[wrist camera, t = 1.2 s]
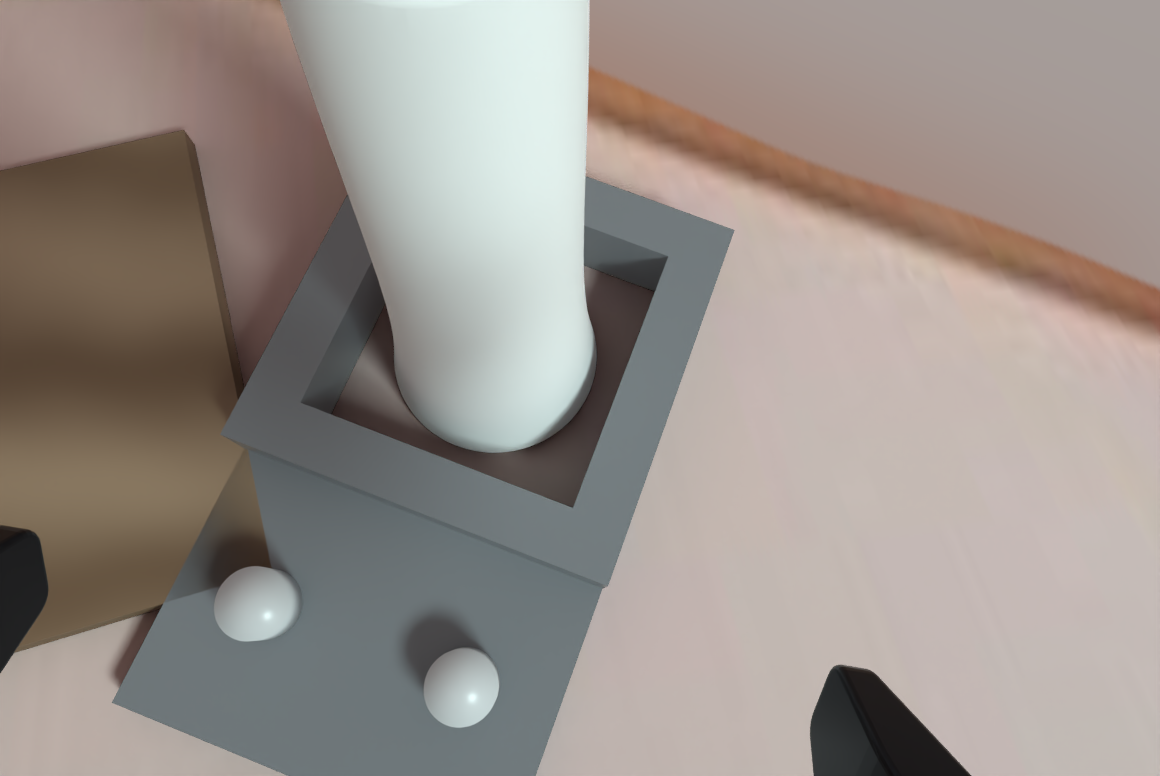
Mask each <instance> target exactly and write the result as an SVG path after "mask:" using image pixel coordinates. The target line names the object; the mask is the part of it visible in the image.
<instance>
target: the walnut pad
mask: <svg viewBox="0 0 1160 776" xmlns="http://www.w3.org/2000/svg"><path fill="white" fill-rule="evenodd" d="M243 390H244V385H243V380H242V375H241V370H240V365H239V360H238V355H237V350H236V345H235V341H234V336H233V331H232V326H231V321H230V316H229V311H228V306H227V301H226V296H225V291H224V286H223V281H222V277H221V272H220V267H219V262H218V257H217V252H216V247H215V242H214V237H213V232H212V227H211V222H210V218H209V213H208V208H207V203H206V198H205V193H204V188H203V183H202V178H201V173H200V168H199V163H198V158H197V154H196V149H195V145H194V143H193V142H192V140H191V139H190V138H189V136H188V135H187V134H186V132H185V131H184V130H181V131H177V132H172V133H168V134H163V135H159V136H154V137H150V138H145V139H141V140H136V141H132V142H127V143H123V144H118V145H114V146H109V147H105V148H100V149H96V150H91V151H87V152H82V153H78V154H73V155H69V156H64V157H60V158H55V159H51V160H46V161H42V162H37V163H33V164H29V165H24V166H20V167H15V168H11V169H6V170H2V171H0V525H5V526H11V527H17V528H23V529H28V530H31V531H33V532H35V533H36V534H37V536H38V537H39V539H40V542H41V547H42V552H43V558H44V563H45V569H46V574H47V580H48V587H49V590H48V597H47V601H46V603H45V606H44V608H43V610H42V611H41V613H40V615H39V616H38V618H37V619H36V621H35V622H34V623H33V625H32V626H31V628H30V629H29V631H28V632H27V634H26V635H25V637H24V638H23V640H22V641H21V643H20V644H19V646H18V647H17V649H16V650H15V652H18V651H22V650H25V649H28V648H32V647H35V646H38V645H42V644H45V643H48V642H51V641H55V640H58V639H61V638H65V637H68V636H71V635H75V634H78V633H81V632H85V631H88V630H91V629H95V628H98V627H101V626H105V625H108V624H111V623H115V622H118V621H121V620H125V619H128V618H131V617H134V616H138V615H141V614H144V613H148V612H151V611H154V610H158V609H161V607H162V605H163V603H164V601H165V603H166V598H167V596H170V595H169V593H170V590H171V588H172V586H173V587H174V585H173V584H174V582H175V580H176V578H180V579H181V577H183V578H184V577H185V576H184V575H183V576H179V577H178V574H179V573H180V571H183V572H184V569H186V568H187V572H191V571H192V570H193V571H194V573H193V574H195V575H194V577H195V578H196V574H197V573H196V572H199V573H200V572H201V570H199V571H197V570H196V571H195V570H194V568H195V567H196V568H197V567H198V566H199V565H198V564H200V563H202V562H207V563H208V564H209V565H211V563H209V562H210V561H213V560H215V562H216V563H215V562H214V561H213V562H214V564H215V565H216V564H217V561H219V562H221V561H222V562H224V561H225V560H224V559H223V560H222V559H219V558H220V557H221V558H224V555H223V554H225V557H226V558H227V557H228V556H229V555H231V556H232V557H230V556H229V557H228V558H227V559H226V558H225V559H226V560H227V561H230V560H229V559H231V561H235V562H234V563H235V564H234V563H233V562H231V561H230V562H226V561H225V563H226V565H227V566H226V565H225V563H221V565H220V563H219V562H218V564H217V566H215V565H214V564H213V565H214V566H213V565H211V566H209V567H210V568H209V569H208V567H207V571H208V570H212V568H215V569H216V570H214V569H213V570H214V571H213V572H215V573H217V574H219V573H218V572H221V573H222V574H223V570H225V572H227V571H230V572H227V573H228V574H227V573H225V572H224V573H225V574H223V575H220V576H218V575H216V574H213V572H212V571H211V572H212V573H211V572H210V571H208V572H210V573H211V574H208V573H207V571H206V569H205V570H202V572H204V571H206V572H204V573H203V574H204V575H206V576H209V575H210V576H211V575H214V577H213V576H212V577H211V578H210V580H212V578H214V580H213V581H215V583H216V581H217V579H218V578H217V577H219V578H220V579H222V580H223V581H225V580H226V579H225V578H226V576H227V578H228V577H229V575H231V574H230V573H231V572H232V574H233V573H234V572H236V571H238V570H240V569H243V568H246V567H251V566H257V565H258V566H260V567H262V566H263V567H266V566H265V565H267V566H268V567H266V568H269V567H270V568H271V563H270V558H269V557H268V555H269V553H268V548H267V543H266V538H265V533H264V528H263V523H262V518H261V513H260V508H259V503H258V498H257V496H256V495H257V493H256V488H255V483H254V478H253V473H252V468H251V465H250V464H251V463H250V458H249V453H248V449H245V448H243V447H241V446H239V445H238V444H236V443H234V442H232V441H231V440H229V439H227V438H225V437H224V436H222V435H220V433H221V432H222V430H223V428H224V426H225V424H226V422H227V420H228V418H229V417H230V415H231V413H232V411H233V409H234V407H235V405H236V403H237V401H238V400H239V398H240V396H241V394H242V392H243ZM244 449H245V450H244ZM246 451H247V452H246ZM241 453H242V454H241ZM240 455H241V456H242V458H241V456H240ZM243 455H245V457H244V456H243ZM246 455H247V456H246ZM246 457H248V459H247V458H246ZM244 458H245V459H244ZM238 459H239V460H240V461H239V460H238ZM242 459H243V460H242ZM237 461H238V462H237ZM236 463H237V465H236ZM242 463H243V464H242ZM246 463H248V464H246ZM235 466H236V467H237V468H236V467H235ZM243 466H244V467H243ZM248 466H249V467H248ZM238 467H239V470H238ZM245 467H246V468H247V467H248V468H247V469H246V468H245ZM242 469H243V470H242ZM250 469H251V470H250ZM236 470H238V471H240V472H238V471H236ZM245 470H247V472H246V471H245ZM248 470H249V471H248ZM241 471H243V472H241ZM249 472H250V473H249ZM231 473H233V474H231ZM236 473H237V474H239V475H237V474H236ZM234 474H235V475H234ZM250 474H251V475H250ZM248 475H249V476H248ZM232 476H233V477H232ZM246 476H247V477H246ZM240 477H242V478H243V479H242V478H240ZM244 477H245V478H244ZM228 478H229V479H228ZM239 478H240V479H239ZM231 479H232V482H231ZM233 479H235V480H233ZM237 479H238V480H237ZM245 479H246V482H245ZM248 479H249V481H250V482H249V481H248ZM227 480H229V481H230V482H231V483H232V484H231V483H230V482H229V481H227ZM241 480H244V481H243V482H242V481H241ZM251 480H252V481H251ZM247 481H248V483H247ZM227 482H228V484H227ZM233 482H235V483H233ZM237 482H238V483H239V484H238V483H237ZM240 482H241V483H240ZM229 483H230V484H231V485H232V486H230V484H229ZM236 484H237V485H238V486H237V485H236ZM225 485H226V486H225ZM234 485H235V487H236V488H235V487H234ZM247 485H248V486H250V485H251V486H250V488H249V487H248V486H247ZM227 486H228V488H227ZM229 486H230V487H229ZM233 487H234V488H233ZM247 487H248V488H247ZM253 487H254V488H253ZM224 488H225V489H226V490H225V489H224ZM231 488H232V489H231ZM238 488H239V489H238ZM244 488H245V489H246V490H247V491H246V490H245V489H244ZM227 489H228V490H227ZM241 489H242V490H241ZM248 489H249V490H248ZM252 489H254V490H255V491H254V490H252ZM231 490H232V491H233V492H232V491H231ZM234 490H235V491H234ZM240 490H241V493H243V495H244V494H245V495H247V494H248V495H247V496H245V495H244V496H243V495H242V494H240ZM224 491H225V492H224ZM237 491H238V492H239V493H238V492H237ZM248 491H249V492H248ZM251 491H252V492H251ZM227 492H228V494H229V495H230V496H229V497H227V495H228V494H227ZM229 492H232V493H229ZM221 493H222V495H223V494H224V493H225V494H226V495H223V496H222V495H220V494H221ZM233 493H235V494H237V495H235V496H234V494H233ZM250 493H251V494H250ZM240 495H241V496H242V497H240ZM250 495H251V496H250ZM253 495H254V496H253ZM220 496H221V497H220ZM224 496H226V497H225V498H226V499H227V500H226V499H223V498H224ZM231 496H232V497H231ZM218 497H220V498H222V499H220V498H218ZM245 497H246V498H245ZM247 497H248V498H247ZM250 497H251V498H250ZM230 498H231V499H230ZM239 498H240V499H241V500H240V499H239ZM252 498H253V499H252ZM256 498H257V499H256ZM218 499H219V500H218ZM242 499H243V501H244V502H243V501H242ZM217 500H218V501H219V502H220V503H221V502H223V501H224V502H225V503H226V502H227V503H226V504H225V503H224V502H223V503H221V504H224V505H221V504H220V503H219V502H218V501H217ZM221 500H222V501H221ZM232 500H234V501H232ZM245 500H247V501H245ZM230 501H232V502H230ZM241 501H242V502H241ZM248 501H249V502H251V504H249V502H248ZM253 501H254V502H253ZM217 502H218V503H217ZM228 502H230V503H228ZM245 502H246V503H245ZM236 503H237V504H238V505H237V504H236ZM230 504H231V505H230ZM234 504H235V505H234ZM240 504H241V505H240ZM247 504H249V505H247ZM254 504H255V505H254ZM225 505H227V506H228V505H230V506H232V507H229V506H228V508H229V509H226V508H227V507H226V506H225ZM236 505H237V506H236ZM243 505H244V506H243ZM246 505H247V506H246ZM250 505H251V506H250ZM256 505H257V506H256ZM217 506H218V507H220V508H221V506H224V507H222V509H223V510H222V509H220V508H218V509H216V508H217ZM233 506H234V507H233ZM238 506H239V507H238ZM253 506H254V507H255V508H254V507H253ZM214 507H216V508H215V509H216V510H219V511H217V512H215V513H212V514H210V513H211V512H213V511H216V510H213V509H214ZM225 507H226V508H225ZM236 507H237V509H238V510H237V509H236ZM249 507H250V508H251V509H252V508H254V511H253V509H252V510H251V509H249ZM230 508H231V509H230ZM239 508H240V509H239ZM244 508H245V509H244ZM247 508H248V509H247ZM233 509H235V510H233ZM242 509H244V510H242ZM221 510H222V511H221ZM224 510H225V511H224ZM228 510H230V512H229V511H228ZM232 510H233V513H232ZM236 510H237V511H236ZM255 510H256V511H255ZM234 511H235V512H237V514H235V512H234ZM240 511H242V512H241V513H240ZM243 511H244V512H243ZM246 511H247V512H249V513H247V512H246ZM252 511H253V512H252ZM224 512H225V513H224ZM218 513H219V514H218ZM222 513H223V514H222ZM230 513H231V515H230ZM239 513H240V514H239ZM245 513H246V514H245ZM250 513H251V514H250ZM214 514H215V515H214ZM220 514H221V515H220ZM232 514H233V515H232ZM241 514H242V515H241ZM249 514H250V515H249ZM253 514H254V515H253ZM257 514H258V515H259V516H257ZM213 515H214V516H213ZM218 515H219V516H220V517H219V516H218ZM222 515H223V516H222ZM224 515H225V516H226V518H225V517H224ZM227 515H228V516H227ZM229 515H230V517H229ZM235 515H236V517H234V518H233V516H235ZM237 515H238V516H239V517H237ZM251 515H252V516H251ZM209 516H210V517H209ZM217 516H218V517H217ZM246 516H247V517H246ZM255 516H257V517H255ZM213 517H215V519H214V520H212V519H213ZM216 517H217V518H216ZM221 517H222V518H224V520H223V521H221V520H222V519H221ZM228 517H229V518H228ZM209 518H211V519H210V520H211V522H212V521H214V522H215V521H217V519H219V518H220V519H221V520H219V522H218V521H217V522H218V523H216V522H215V524H214V522H212V524H213V525H214V526H215V525H216V526H217V527H218V528H216V527H214V526H213V525H212V524H210V523H211V522H209V521H210V520H209ZM227 518H228V519H227ZM241 518H242V519H243V520H242V519H241ZM247 518H248V520H249V521H250V522H249V521H248V520H247ZM258 518H259V519H258ZM229 519H230V520H229ZM245 519H246V520H245ZM256 519H257V520H258V521H254V520H256ZM207 520H208V521H207ZM241 520H242V521H241ZM251 520H252V521H251ZM224 521H225V522H224ZM227 521H228V522H227ZM245 521H247V522H248V523H246V522H245ZM206 522H207V523H208V522H209V524H208V525H207V526H206V527H207V528H206V527H205V525H204V524H205V523H206ZM220 522H221V523H220ZM236 522H238V523H240V525H241V526H240V525H239V524H238V525H237V523H236ZM241 522H243V523H241ZM251 522H252V523H251ZM223 523H224V525H225V524H227V523H228V524H227V526H226V525H225V526H223V525H222V524H223ZM230 523H232V524H233V525H232V524H230ZM234 523H236V525H235V524H234ZM244 523H245V524H246V525H245V524H244ZM258 523H259V524H261V525H259V524H258ZM250 524H251V525H250ZM210 525H211V526H212V528H211V526H210ZM229 525H231V526H232V527H235V528H234V529H232V527H231V526H230V527H231V530H229V529H230V527H228V526H229ZM256 525H259V527H260V528H259V527H257V526H256ZM208 526H209V527H210V528H211V529H210V528H208ZM244 526H245V527H244ZM203 527H205V528H203ZM213 527H214V528H213ZM222 527H224V528H225V529H224V528H222ZM227 527H228V528H229V529H228V528H227ZM236 527H237V528H236ZM238 527H241V528H238ZM202 528H203V529H202ZM220 528H221V529H222V530H221V529H220ZM254 528H255V529H254ZM261 528H262V529H261ZM205 529H207V530H208V529H210V532H212V529H213V530H214V529H217V531H216V530H215V531H216V532H217V534H216V533H215V531H214V532H212V533H213V534H214V533H215V534H214V535H215V536H214V537H213V534H212V533H211V534H212V535H211V534H210V532H209V530H208V532H207V533H206V535H207V534H209V535H208V537H209V536H210V535H211V538H212V539H211V538H210V537H209V538H210V539H209V538H207V539H209V542H207V541H206V540H207V539H205V538H206V537H205V534H203V533H202V534H203V535H204V537H203V536H201V534H200V533H201V532H202V531H203V532H204V530H205ZM219 529H220V530H221V531H222V532H221V531H220V530H219ZM223 529H224V530H226V531H223ZM238 529H239V530H238ZM248 529H249V530H251V531H249V530H248ZM218 530H219V531H220V533H219V531H218ZM227 530H228V532H227ZM256 530H258V532H259V533H258V532H256ZM205 531H206V530H205ZM235 531H237V532H235ZM242 531H245V532H244V533H243V536H242ZM226 532H227V533H228V534H227V533H226ZM238 532H239V533H238ZM246 532H248V533H247V537H246V536H245V535H246ZM249 532H252V533H250V534H249ZM204 533H205V532H204ZM221 533H222V534H223V533H225V535H223V536H224V537H223V536H222V534H221ZM233 533H235V534H233ZM236 533H237V536H240V537H237V536H236ZM263 533H264V534H263ZM218 534H220V535H218ZM229 534H230V536H231V538H232V539H230V538H229V537H230V536H229ZM231 534H232V535H231ZM199 535H200V536H201V538H202V537H203V538H204V540H203V541H205V542H206V544H209V543H210V540H211V543H213V544H215V543H216V542H217V544H216V546H217V547H218V548H217V547H216V546H215V545H214V547H213V546H211V547H209V548H208V549H210V551H211V548H213V549H212V552H213V550H214V548H215V550H214V552H215V553H218V552H219V551H220V552H219V556H220V555H222V556H220V557H219V556H217V555H218V554H216V557H217V558H216V557H215V555H213V553H214V552H213V553H212V554H211V552H210V551H209V550H207V551H206V552H205V548H206V549H207V546H208V545H206V544H205V542H204V543H202V539H203V538H202V539H201V540H200V538H198V536H199ZM216 535H218V536H216ZM233 535H234V536H236V537H237V538H236V537H234V536H233ZM221 536H222V537H221ZM227 536H228V538H229V540H230V541H228V540H227V539H226V538H227ZM254 536H255V537H256V538H255V537H254ZM259 536H261V537H262V538H261V537H259ZM263 536H264V537H263ZM215 537H216V538H218V537H219V538H220V537H221V539H222V540H221V539H219V538H218V539H216V538H215ZM225 537H226V538H225ZM258 537H259V538H258ZM244 538H246V539H244ZM247 538H248V539H249V540H247ZM250 538H251V541H252V542H251V541H250ZM253 538H254V539H253ZM263 538H264V539H263ZM197 539H198V540H197ZM235 539H236V540H235ZM237 539H238V540H237ZM239 539H240V540H239ZM242 539H243V540H242ZM259 539H260V540H259ZM261 539H263V540H261ZM213 540H214V541H213ZM218 540H219V542H220V541H223V540H224V541H223V542H220V543H218ZM225 540H227V541H228V542H229V544H230V546H231V547H232V545H233V550H232V548H231V549H227V548H228V547H230V546H228V545H229V544H228V542H227V543H226V541H225ZM232 540H233V541H232ZM234 540H235V541H234ZM255 540H258V541H257V542H256V541H255ZM196 541H197V542H196ZM198 541H199V543H198ZM215 541H216V542H215ZM237 541H238V542H239V543H238V542H237ZM241 541H242V543H241ZM246 541H247V542H249V543H247V542H246ZM254 541H255V542H254ZM263 541H264V542H263ZM214 542H215V543H214ZM243 542H245V543H246V544H247V545H248V546H247V545H246V544H244V543H243ZM260 542H261V543H260ZM195 543H196V544H195ZM200 543H201V544H200ZM211 543H210V544H211ZM222 543H223V544H224V543H225V544H224V546H225V545H227V546H228V547H227V546H225V547H226V548H225V549H224V546H223V544H222ZM234 543H235V545H237V546H238V545H239V546H241V544H242V546H244V547H242V546H241V547H242V548H243V549H244V550H243V549H242V548H241V547H240V548H241V549H240V548H239V549H238V547H239V546H238V547H237V546H235V545H234ZM194 544H195V545H194ZM198 544H199V545H200V548H202V549H200V548H199V549H198V548H197V549H198V550H195V552H196V557H197V558H199V557H200V556H199V557H198V555H197V552H198V553H200V555H201V553H202V552H203V554H205V556H206V557H205V558H206V559H207V560H208V559H209V558H210V557H209V556H207V552H209V553H210V554H209V555H212V558H214V559H211V558H210V559H211V560H208V561H209V562H208V561H206V559H204V558H203V559H201V558H202V556H201V558H200V559H199V560H195V559H194V558H193V559H194V561H195V562H194V561H193V560H192V561H193V562H192V563H191V567H192V566H193V567H194V565H196V561H199V562H198V563H197V566H195V567H194V568H191V567H188V566H190V563H189V565H188V564H187V563H186V562H185V561H187V560H188V559H189V558H190V557H191V558H190V560H191V559H192V557H193V556H195V552H194V553H193V552H192V553H193V554H194V555H193V554H191V553H190V552H191V550H193V549H195V547H196V546H198ZM202 544H205V545H206V547H205V548H204V549H203V547H204V545H203V546H201V545H202ZM213 544H211V545H213ZM218 544H219V545H218ZM221 544H222V545H221ZM262 544H263V547H262ZM251 545H252V546H251ZM256 545H257V546H256ZM265 545H266V549H265V548H264V547H265ZM193 546H194V548H193ZM209 546H210V545H209ZM219 546H220V547H222V548H223V549H224V550H225V551H227V550H231V552H233V553H234V554H233V553H232V554H227V552H226V553H224V552H225V551H224V552H222V550H223V549H222V548H220V547H219ZM234 546H235V547H234ZM198 547H199V546H198ZM258 547H259V548H258ZM260 547H261V549H260ZM192 548H193V549H192ZM216 548H217V549H219V548H220V549H219V551H218V552H217V549H216ZM234 548H236V549H235V550H236V552H237V551H238V552H237V553H235V550H234ZM248 548H249V549H248ZM253 548H254V550H253ZM255 548H256V549H257V550H256V549H255ZM226 549H227V550H226ZM245 549H247V550H245ZM199 550H200V551H201V550H202V551H201V552H200V551H199ZM249 550H250V551H251V550H252V551H253V552H254V554H253V552H252V551H251V553H252V554H251V553H250V552H249ZM258 550H259V551H258ZM240 551H241V552H240ZM244 551H247V553H246V552H244ZM255 551H256V552H255ZM221 552H222V553H223V554H222V553H221ZM231 552H230V551H228V553H231ZM257 552H258V553H257ZM189 553H190V555H193V556H190V557H188V556H189ZM215 553H214V554H215ZM238 553H239V554H238ZM240 553H242V554H243V555H244V556H243V557H244V558H246V560H245V559H244V558H243V557H241V558H240V559H241V560H240V559H237V558H238V557H240V555H241V556H242V554H240ZM244 553H246V554H244ZM248 553H249V554H251V556H250V555H249V554H248ZM264 553H265V554H266V555H265V554H264ZM226 554H227V555H226ZM259 554H260V556H259ZM234 555H235V556H237V558H236V557H235V556H234ZM245 555H248V556H249V557H247V556H245ZM255 555H256V556H255ZM264 555H265V556H264ZM252 556H253V558H252ZM261 556H262V558H261ZM263 556H264V558H263ZM187 557H188V559H187ZM196 557H195V558H196ZM203 557H204V556H203ZM207 557H208V558H207ZM233 557H234V558H235V559H234V558H233ZM256 557H257V559H256ZM258 558H259V559H258ZM267 558H269V560H268V559H267ZM186 559H187V560H186ZM216 559H217V560H216ZM248 559H249V560H248ZM252 559H253V560H252ZM266 559H267V560H266ZM201 560H203V561H201ZM243 560H244V561H246V563H245V562H244V561H243ZM250 560H251V561H250ZM256 560H257V561H256ZM200 561H201V562H200ZM237 561H238V562H237ZM249 561H250V563H249V565H247V562H249ZM252 561H254V562H256V564H257V565H256V564H255V563H254V562H252ZM258 561H259V562H260V561H261V562H260V563H258ZM262 561H263V562H262ZM187 562H188V561H187ZM213 562H212V563H213ZM239 562H240V563H241V562H243V563H241V566H242V567H241V568H238V567H240V563H239ZM184 563H185V564H184ZM207 563H204V564H202V565H203V567H205V566H204V565H206V566H207ZM227 563H230V564H227ZM231 563H232V564H231ZM253 563H254V564H253ZM193 564H194V565H193ZM223 564H224V565H223ZM250 564H251V565H250ZM262 564H263V565H262ZM183 565H185V566H186V565H187V566H186V567H185V566H184V567H185V568H184V567H183ZM232 565H233V567H234V569H233V567H231V566H232ZM235 565H236V566H235ZM243 565H245V566H246V565H247V566H246V567H245V566H244V567H243ZM200 566H201V564H200ZM200 566H199V567H200ZM221 566H223V567H221ZM224 566H225V567H226V568H227V569H228V570H226V569H225V567H224ZM230 567H231V569H230ZM235 567H237V568H238V570H237V569H236V568H235ZM182 568H184V569H182ZM188 568H191V569H192V570H191V571H188ZM218 568H219V569H220V568H223V570H222V569H221V570H222V571H219V569H218ZM181 569H182V570H181ZM198 569H200V568H198ZM201 569H203V568H202V567H201ZM217 569H218V570H217ZM232 569H233V571H234V572H233V571H232ZM235 570H236V571H235ZM185 573H186V572H185ZM199 573H198V575H199ZM221 573H220V574H221ZM191 574H192V573H190V575H191ZM193 574H192V576H193ZM203 574H201V575H203ZM207 574H208V575H207ZM179 575H181V574H179ZM188 575H189V574H188ZM188 575H187V573H186V577H185V579H189V581H190V578H192V577H190V576H189V578H187V576H188ZM201 575H199V576H200V577H202V576H201ZM204 575H203V576H204ZM215 575H216V576H215ZM225 575H226V576H225ZM206 576H205V577H206ZM222 576H224V577H222ZM200 577H199V578H200ZM205 577H202V578H204V579H205V580H206V581H205V580H203V579H202V580H203V581H205V582H206V583H209V582H211V583H210V584H211V585H213V584H212V583H213V581H210V580H209V578H208V577H207V579H208V580H207V579H206V578H205ZM183 578H182V580H184V579H183ZM199 578H198V580H197V583H196V579H197V578H196V579H194V580H195V581H194V583H196V584H197V585H198V587H199V588H200V587H201V589H202V588H203V586H199V585H201V584H202V585H203V583H204V582H202V581H201V580H200V582H201V583H200V582H199ZM216 578H217V579H216ZM180 579H179V581H180V582H182V583H187V582H185V581H186V580H185V581H184V582H183V581H181V580H180ZM220 579H219V581H220ZM191 580H192V581H193V579H191ZM176 581H177V580H176ZM179 581H178V582H179ZM187 581H188V580H187ZM207 581H208V582H207ZM223 581H222V582H223ZM180 582H179V583H177V582H176V583H177V584H178V585H179V584H181V583H180ZM217 582H218V581H217ZM220 582H221V581H220ZM220 582H218V583H220ZM222 582H221V583H220V584H223V583H222ZM194 583H193V582H192V584H191V583H187V584H188V585H189V584H190V585H189V586H188V585H187V584H186V586H187V587H188V588H191V585H192V586H195V585H193V584H194ZM198 583H199V584H198ZM215 583H214V584H215ZM177 584H176V585H177ZM216 584H217V583H216ZM216 584H215V585H216ZM183 585H184V584H183ZM183 585H182V586H183ZM204 585H205V586H207V585H206V584H205V583H204ZM211 585H210V586H211ZM215 585H214V586H215ZM217 585H219V584H217ZM217 585H216V586H217ZM179 586H180V585H179ZM205 586H204V587H205ZM216 586H215V588H216ZM220 586H221V585H220ZM187 587H185V588H186V589H187ZM208 587H209V584H208ZM192 588H193V587H192ZM196 588H197V587H196ZM211 588H213V587H210V589H211ZM173 589H174V588H173ZM173 589H172V591H173ZM182 589H184V587H182ZM193 589H194V592H198V591H199V589H198V591H197V590H196V589H195V588H193ZM201 589H200V590H201ZM206 589H208V590H209V588H207V587H205V588H204V589H202V590H204V591H206ZM177 590H179V591H180V590H181V588H177ZM177 590H174V591H175V596H176V594H177V592H176V591H177ZM187 590H189V589H187ZM187 590H185V591H187ZM191 590H192V589H191ZM202 590H201V591H202ZM174 591H173V592H174ZM181 591H182V592H183V591H184V590H181ZM185 591H184V593H185V594H186V592H185ZM182 592H181V593H182ZM187 592H188V591H187ZM192 592H193V590H192ZM192 592H191V593H192ZM194 592H193V593H194ZM171 593H172V592H171ZM179 593H180V592H178V596H181V595H179ZM188 594H189V592H188ZM188 594H187V595H188ZM187 595H186V596H187ZM190 595H192V594H190ZM182 596H183V595H182ZM188 596H189V595H188ZM184 597H185V596H184ZM171 598H172V597H171ZM174 598H175V597H174ZM179 598H180V597H179ZM169 599H170V598H169ZM176 599H177V598H176ZM172 600H173V599H172ZM172 600H171V601H172ZM168 602H169V601H168ZM15 652H14V653H15Z"/></svg>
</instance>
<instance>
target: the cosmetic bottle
mask: <svg viewBox="0 0 1160 776" xmlns="http://www.w3.org/2000/svg"><path fill="white" fill-rule="evenodd" d="M280 2H281V5H282V8H283V11H284V14H285V17H286V20H287V23H288V27H289V30H290V33H291V36H292V39H293V42H294V45H295V48H296V50H297V53H298V56H299V59H300V62H301V65H302V68H303V70H304V73H305V76H306V79H307V82H308V85H309V88H310V90H311V93H312V96H313V99H314V102H315V105H316V107H317V110H318V113H319V116H320V119H321V122H322V125H323V127H324V130H325V133H326V136H327V139H328V141H329V144H330V147H331V150H332V152H333V155H334V158H335V161H336V163H337V166H338V169H339V171H340V174H341V177H342V180H343V182H344V185H345V188H346V191H347V193H348V196H349V199H350V202H351V204H352V207H353V210H354V213H355V215H356V218H357V221H358V224H359V226H360V229H361V232H362V235H363V237H364V240H365V243H366V246H367V249H368V252H369V255H370V258H371V261H372V263H373V266H374V269H375V272H376V275H377V278H378V281H379V284H380V287H381V290H382V294H383V297H384V300H385V303H386V307H387V311H388V314H389V318H390V323H391V328H392V332H393V340H394V366H395V374H396V378H397V383H398V386H399V389H400V391H401V394H402V396H403V398H404V400H405V402H406V404H407V406H408V407H409V408H410V410H411V411H412V413H413V414H414V416H415V417H416V418H417V419H418V420H419V421H420V422H421V423H422V424H423V425H424V426H425V427H426V428H427V429H429V430H430V431H431V432H432V433H434V434H435V435H437V436H438V437H440V438H441V439H443V440H445V441H447V442H449V443H451V444H453V445H456V446H459V447H462V448H465V449H468V450H473V451H478V452H488V453H500V452H510V451H516V450H520V449H524V448H527V447H530V446H533V445H535V444H538V443H540V442H542V441H544V440H546V439H547V438H549V437H551V436H552V435H554V434H555V433H557V432H558V431H559V430H561V429H562V428H563V427H564V426H565V425H566V424H567V423H569V422H570V421H571V419H572V418H573V417H574V416H575V415H576V414H577V412H578V411H579V409H580V408H581V406H582V405H583V403H584V402H585V400H586V398H587V396H588V394H589V392H590V389H591V386H592V383H593V380H594V376H595V371H596V363H597V347H596V340H595V335H594V331H593V328H592V325H591V322H590V319H589V315H588V311H587V304H586V296H585V284H584V207H585V175H586V143H587V111H588V65H589V0H280Z"/></svg>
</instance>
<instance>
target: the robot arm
mask: <svg viewBox="0 0 1160 776" xmlns="http://www.w3.org/2000/svg"><path fill="white" fill-rule="evenodd" d="M48 590H49V587H48V580H47V574H46V569H45V563H44V558H43V552H42V547H41V542H40V539H39V537H38V536H37V534H36V533H35V532H33V531H31V530H28V529H23V528H17V527H11V526H5V525H0V673H1V671H2V670H3V668H4V667H5V665H6V664H7V662H8V661H9V659H10V658H11V656H12V655H13V653H14V652H15V650H16V649H17V647H18V646H19V644H20V643H21V641H22V640H23V638H24V637H25V635H26V634H27V632H28V631H29V629H30V628H31V626H32V625H33V623H34V622H35V621H36V619H37V618H38V616H39V615H40V613H41V611H42V610H43V608H44V606H45V603H46V601H47V597H48ZM810 741H811V751H812V762H813V773H814V776H971V775H970V774H969V773H968V772H967V771H966V769H965V768H964V767H963V766H962V765H961V764H960V763H959V762H958V761H957V760H956V759H955V758H954V757H953V756H952V755H951V754H950V752H949V751H948V750H947V749H946V748H945V747H944V746H943V745H942V744H941V743H940V742H939V741H938V740H937V739H936V738H935V736H934V735H933V734H932V733H931V732H930V731H929V730H928V729H927V728H926V727H925V726H924V725H923V724H922V723H921V722H920V720H919V719H918V718H917V717H916V716H915V715H914V714H913V713H912V712H911V711H910V710H909V709H908V708H907V707H906V706H905V705H904V703H903V702H902V701H901V700H900V699H899V698H898V697H897V696H896V695H895V694H894V693H893V692H892V691H891V690H890V689H889V687H888V686H887V685H886V684H885V683H884V682H883V681H882V680H881V679H880V678H879V677H878V676H877V675H876V674H875V673H874V672H872V671H871V670H868V669H864V668H858V667H852V666H846V665H836V666H834V667H833V668H832V669H831V671H830V672H829V674H828V677H827V679H826V682H825V684H824V687H823V690H822V692H821V695H820V697H819V700H818V702H817V705H816V707H815V710H814V712H813V715H812V719H811V726H810Z"/></svg>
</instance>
